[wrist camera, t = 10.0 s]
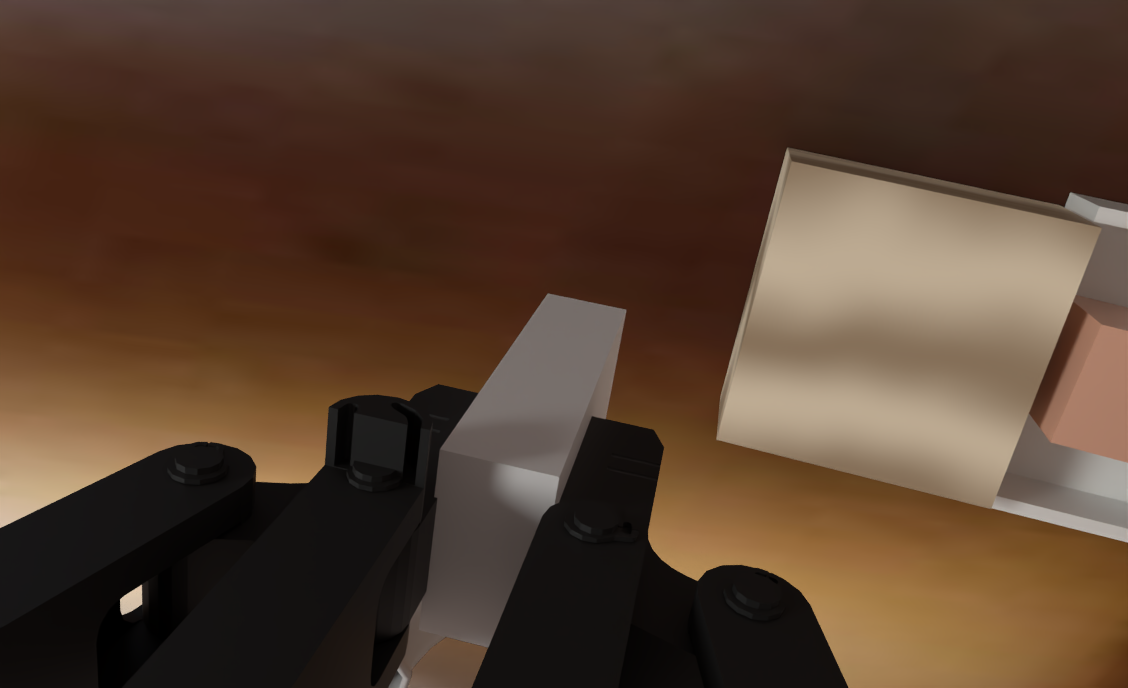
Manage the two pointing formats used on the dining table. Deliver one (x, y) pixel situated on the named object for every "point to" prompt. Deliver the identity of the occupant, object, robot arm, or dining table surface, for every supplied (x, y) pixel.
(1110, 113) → the dining table surface
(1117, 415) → the terracotta tile
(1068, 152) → the dining table surface
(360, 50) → the dining table surface
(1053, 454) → the box
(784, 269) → the cream square tray
